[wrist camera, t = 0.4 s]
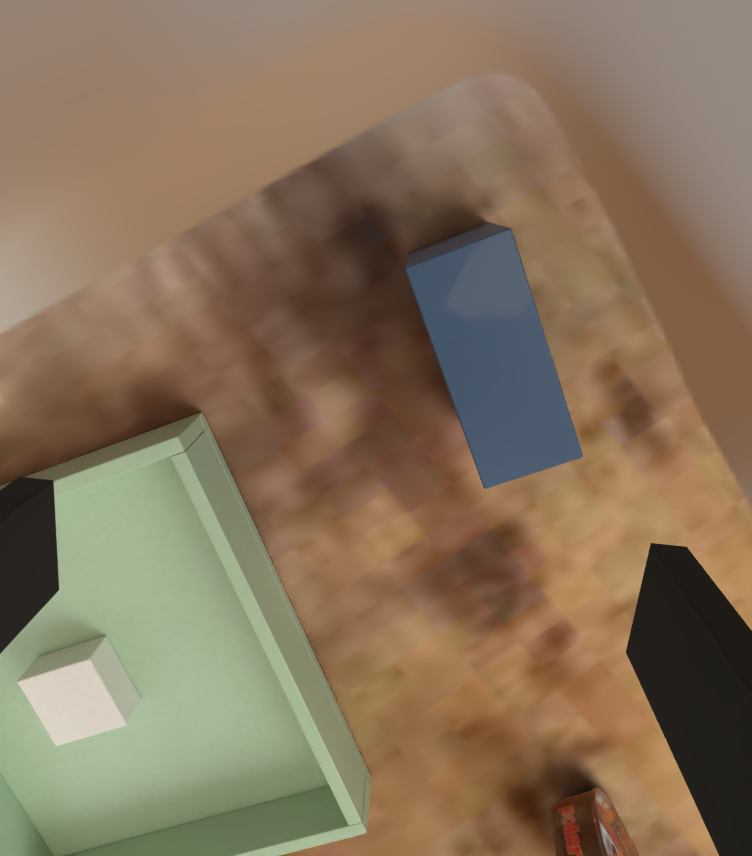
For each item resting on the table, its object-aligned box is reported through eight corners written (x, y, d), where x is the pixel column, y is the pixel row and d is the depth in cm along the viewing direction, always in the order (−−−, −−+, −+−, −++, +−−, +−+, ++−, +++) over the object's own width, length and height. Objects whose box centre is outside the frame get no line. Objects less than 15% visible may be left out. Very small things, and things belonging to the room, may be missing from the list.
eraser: (407, 252, 30) (404, 268, 23) (488, 221, 29) (511, 227, 22) (469, 425, 32) (484, 489, 25) (545, 399, 31) (583, 457, 24)
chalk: (37, 656, 36) (15, 681, 34) (106, 634, 36) (88, 658, 34) (73, 719, 37) (55, 747, 35) (142, 698, 37) (126, 726, 35)
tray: (-149, 539, 35) (-210, 576, 32) (202, 411, 32) (177, 436, 29) (55, 860, 41) (22, 921, 38) (371, 776, 38) (367, 833, 35)
